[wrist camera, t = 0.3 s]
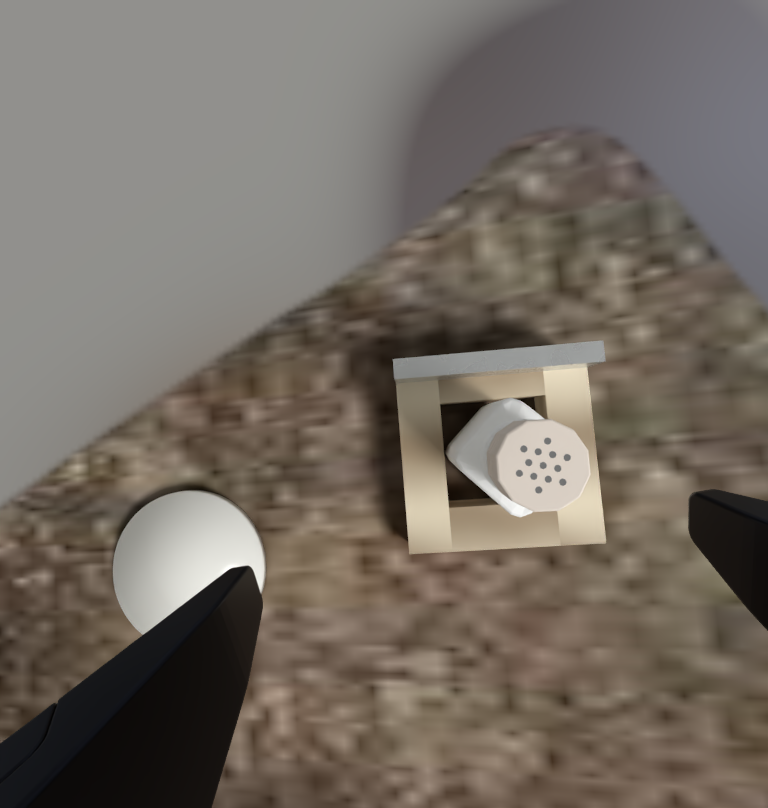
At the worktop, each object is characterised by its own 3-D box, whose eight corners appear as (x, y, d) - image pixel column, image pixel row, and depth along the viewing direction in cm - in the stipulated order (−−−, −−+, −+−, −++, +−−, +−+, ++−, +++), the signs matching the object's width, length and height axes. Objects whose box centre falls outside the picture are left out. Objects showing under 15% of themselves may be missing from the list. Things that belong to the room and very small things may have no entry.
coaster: (219, 674, 23) (214, 680, 23) (93, 594, 24) (85, 598, 24) (293, 537, 24) (290, 540, 23) (166, 462, 24) (160, 463, 24)
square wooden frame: (588, 532, 22) (626, 555, 18) (409, 543, 23) (409, 567, 19) (570, 355, 23) (603, 340, 19) (396, 370, 24) (392, 359, 20)
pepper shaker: (540, 446, 23) (629, 460, 13) (493, 499, 23) (550, 550, 13) (485, 400, 23) (535, 382, 14) (440, 452, 23) (459, 470, 14)
